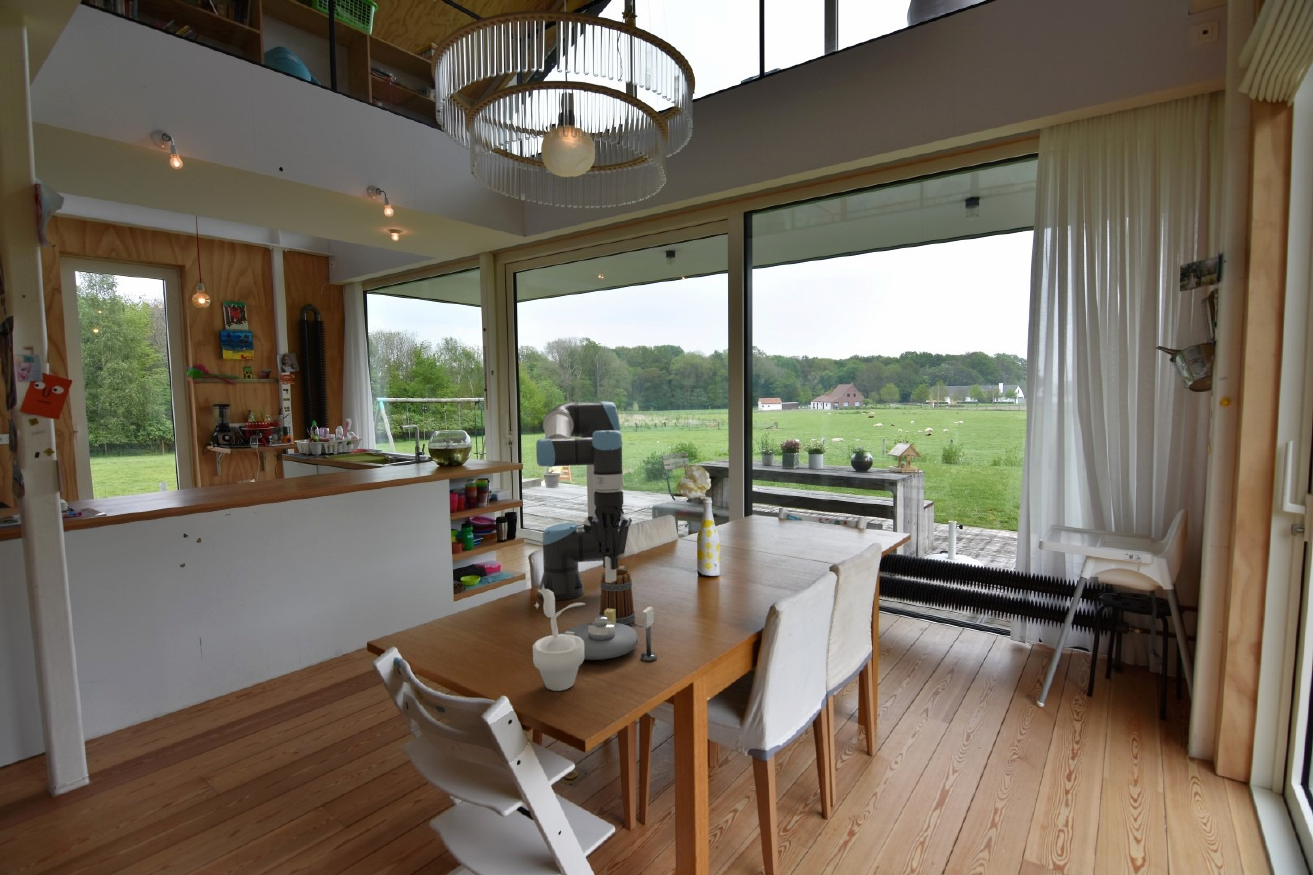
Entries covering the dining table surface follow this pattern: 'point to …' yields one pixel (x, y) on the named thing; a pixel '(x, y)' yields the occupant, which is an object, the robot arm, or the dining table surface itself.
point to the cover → (601, 629)
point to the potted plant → (557, 650)
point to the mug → (618, 596)
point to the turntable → (606, 649)
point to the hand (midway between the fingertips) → (611, 581)
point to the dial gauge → (647, 634)
